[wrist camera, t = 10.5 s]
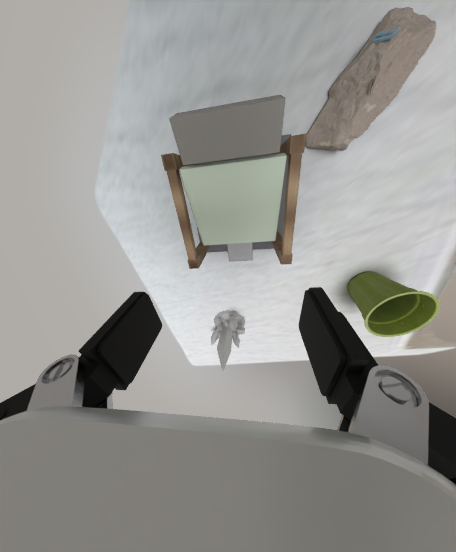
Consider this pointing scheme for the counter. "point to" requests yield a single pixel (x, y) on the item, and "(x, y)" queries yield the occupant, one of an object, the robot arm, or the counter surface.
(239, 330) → the crystal
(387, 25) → the concrete fragment
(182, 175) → the trapdoor
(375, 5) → the counter surface
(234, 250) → the stone block
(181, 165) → the frame
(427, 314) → the plant pot
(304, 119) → the counter surface
